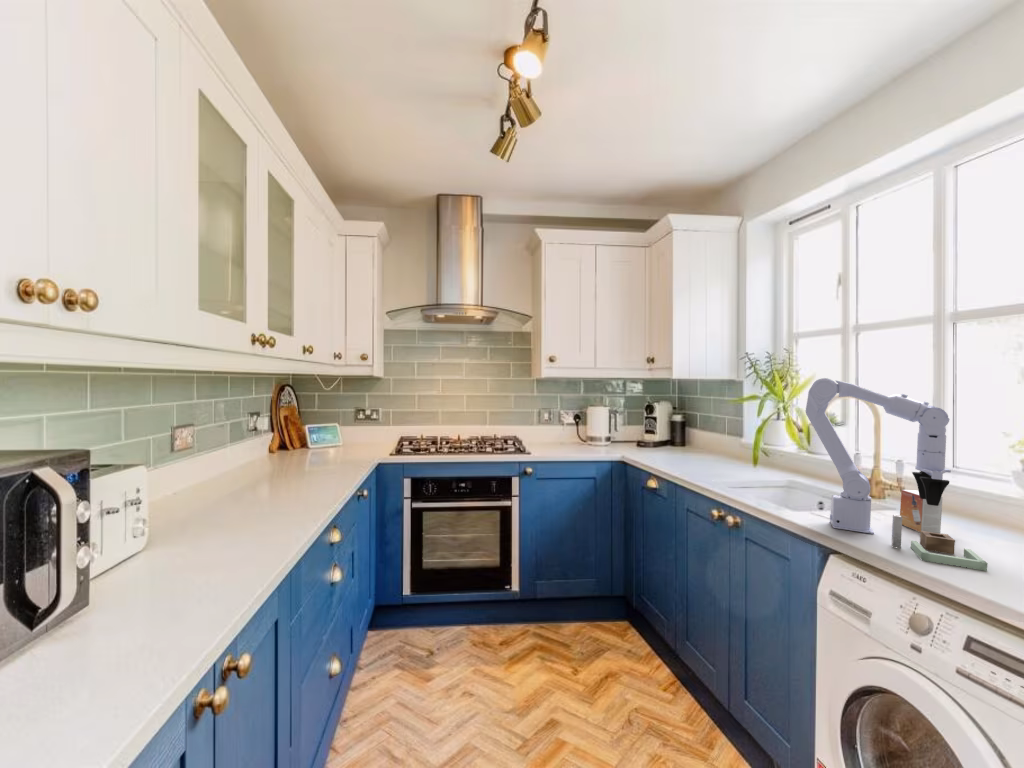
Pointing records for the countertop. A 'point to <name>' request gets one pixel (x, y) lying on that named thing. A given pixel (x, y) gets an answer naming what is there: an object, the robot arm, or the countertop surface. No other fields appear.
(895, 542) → the grey upright post
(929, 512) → the small box
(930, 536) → the walnut block
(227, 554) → the countertop surface
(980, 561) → the green u-shaped bracket
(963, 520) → the countertop surface
